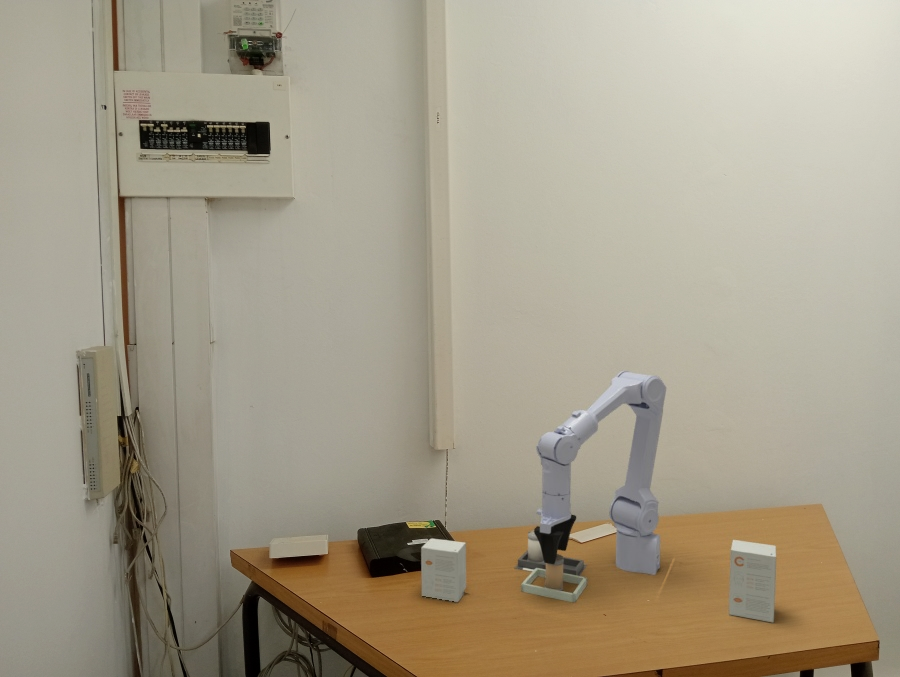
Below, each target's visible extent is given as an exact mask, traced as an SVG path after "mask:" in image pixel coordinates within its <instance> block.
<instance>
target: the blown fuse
mask: <svg viewBox="0 0 900 677" xmlns="http://www.w3.org/2000/svg"><path fill="white" fill-rule="evenodd" d="M564 557H565V556H563V555H562V554H558V553H557V557H556V561H555V564H549V563H546V572H545V578H544V579H545V582H544V588H549V589H554V590H559V591H563V590H564V581H563V563H564Z"/></svg>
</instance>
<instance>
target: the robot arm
mask: <svg viewBox="0 0 900 677" xmlns="http://www.w3.org/2000/svg"><path fill="white" fill-rule="evenodd" d="M666 392H667V386H666V385H665V383H664V382H663V379H662V378H660V376H658V375H654V374H653V375H649V374H644V373H637V372H630V371H628V370H622V371H620V372H618V373H617V374H616V376H615V377H613V378H611V380H610V386H609V387H608V388H607V389H606V390H605V391H604V392H603V393H602V394H601V395H600V396H599V397H598V398H597V399H596V400H595V401H594V402H593V403H592V404H591V405H590V407H589V408H587V409H586V410H583V409H578V410H574V411H572V413H571V416H570V417H568V418H567V419H566V420H565V421H564V422H563V423H562V424H560V425H558V426H557V427H556V428H555V430H554V431H548V432H546V433H544V434H542V436H541V437H540V438H539V440H538V444H537V445H536V447H535V448H536V453H537V454H538V456H539V458H540V465H541V468H542V470H541V471H542V474H541V475H542V477H541V480H542V481H541V483H542V484H541V508H538V509H537V510H536V512H535V513H536V515H537V516H540V518H541V519H540V522H539V526H538V525H536V527H534V529H533V531H534V533H535V535H536V537H537V539H538V541H539V543H540V546H541V550H542V555H543V559H544V563H549V564H555V561H556V557H557V554H558V551H562V552H566V551H567V548H568V545H569V541H570V535H571V531H572V529H573V526H574V524H575V522H576V520H577V515H575V514H572V512H571V511H572V510H571V508H572V506H571V504H572V503H571V481H572V480H571V479H572V478H571V477H572V476H571V475H572V474H571V473H572V463H573V462H574V461H575V460H576V458H577V455H578V453H579V450H580V449H581V447H582V445H583V444H584V443H585V442H587V441H588V440H589V439H590V438H591V437H592V436H594V435H595V433H597V431H598V429H599V423H600V422H601V421H602V420H604V419H605V418H606V417H608V416H609V415H610V414H612V413H613V412H614V411H615V410H617V409H619V408H620V407H621V406H622V405H623V404H624V405H628V406H629V407H630V408H631V410H632V411H633V413H634V414H635V416H636V418H635V424H634V429H633V435H632V441H631V448H630V452H629V453H630V454H629V459H628V465H627V469H626V470H627V471H626V476H625V482H624V485H622V486H621V487H619V488H618V489H616V490H615V493H614V497H613V500H612V501H611V504H610V506H609V510H608V514H609V518H610V520H611V522H613V523H614V527H613V528H615V529H616V533H615V534H616V538H615V566H616V567H617V568H618V569H620V570H623V571H626V572H631V573H641V574H642V573H643V574H647V575H653V576H656V574H657V572H658V570H659V569H660V566H661V535H660V534H657V533H654V531H655V530H656V529H657V527H658V524H659V521H660V520H659V518H660V517H659V516H660V515H659V511H658V510H659V509H658V508H659V501H658V499H657V497H656V496H655V495H654V493H653V492H652V491H651V487H652V478H653V475H654V474H653V473H654V467H655V462H656V456H657V449H658V444H659V437H660V431H661V427H662V420H663V415H664V404H665V398H666Z"/></svg>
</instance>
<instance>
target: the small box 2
mask: <svg viewBox="0 0 900 677" xmlns="http://www.w3.org/2000/svg"><path fill="white" fill-rule="evenodd" d="M729 560H730V562H729V564H730V565H729V567H730V568H729V594H728V615H729V616H734V617H741V618H747V619H751V620H758V621H763V622H768V623H772V624H773V623H774V621H775V605H776V587H777V586H776V581H777V580H776V579H777V546H776V545H773V544H766V543H760V542H759V543H758V542H751V541H745V540H737V539H732V542H731V547H730V558H729Z"/></svg>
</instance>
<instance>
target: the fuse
mask: <svg viewBox="0 0 900 677" xmlns="http://www.w3.org/2000/svg"><path fill="white" fill-rule="evenodd" d="M527 550H528V559H527V560H528V561H533V562H538V563H544V559H543V555H542V550H541V546H540V543H539V541H538V539H537V537H536V535H535V533H534V530H529V531H528V532H527Z"/></svg>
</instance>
